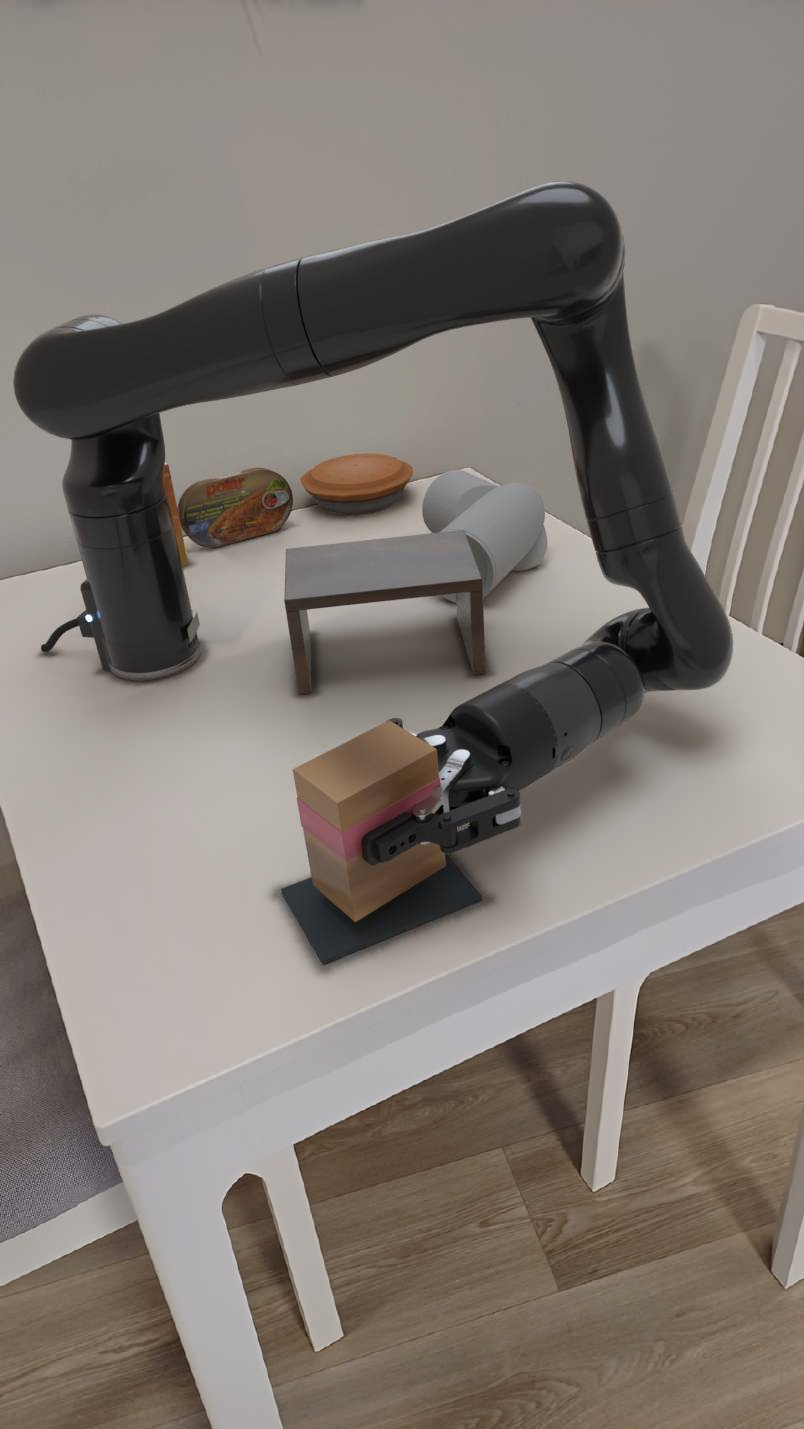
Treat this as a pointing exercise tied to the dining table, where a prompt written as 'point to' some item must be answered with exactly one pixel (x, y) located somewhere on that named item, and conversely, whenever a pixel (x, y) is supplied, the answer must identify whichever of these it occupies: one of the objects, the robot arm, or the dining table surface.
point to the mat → (377, 912)
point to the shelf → (383, 585)
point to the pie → (357, 483)
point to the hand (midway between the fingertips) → (340, 831)
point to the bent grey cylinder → (489, 522)
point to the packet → (365, 815)
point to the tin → (235, 507)
